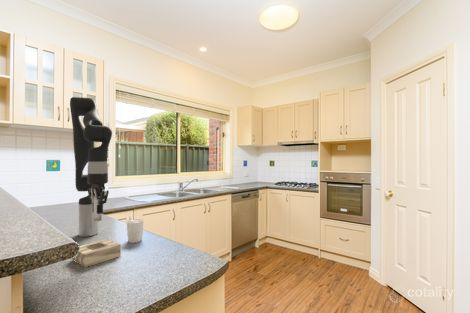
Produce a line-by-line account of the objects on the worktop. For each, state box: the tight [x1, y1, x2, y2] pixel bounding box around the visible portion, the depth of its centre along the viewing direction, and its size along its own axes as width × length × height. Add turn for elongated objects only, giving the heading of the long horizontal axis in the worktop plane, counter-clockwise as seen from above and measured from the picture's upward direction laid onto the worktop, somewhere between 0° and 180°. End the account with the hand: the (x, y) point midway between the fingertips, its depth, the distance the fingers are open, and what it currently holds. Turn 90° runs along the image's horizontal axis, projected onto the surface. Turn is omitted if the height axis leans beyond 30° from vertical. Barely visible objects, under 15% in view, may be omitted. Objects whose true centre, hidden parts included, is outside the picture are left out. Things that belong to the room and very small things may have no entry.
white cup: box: [126, 218, 144, 244], centre depth 124 cm, size 8×8×10 cm
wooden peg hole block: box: [71, 238, 122, 268], centre depth 102 cm, size 12×14×5 cm
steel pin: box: [94, 196, 103, 222], centre depth 103 cm, size 3×3×10 cm
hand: (97, 212), depth 103 cm, fingers closed on steel pin, 3 cm apart
